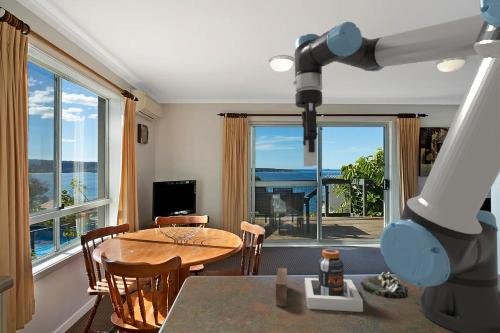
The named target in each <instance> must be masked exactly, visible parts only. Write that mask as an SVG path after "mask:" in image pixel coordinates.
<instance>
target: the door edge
mask: <svg viewBox="0 0 500 333" xmlns="http://www.w3.org/2000/svg"><path fill="white" fill-rule="evenodd" d="M276 270H277V273H276V279H275V280H276V281H275V306H276V307H287V298H288V295H287V294H288V293H287V291H288V278H287V277H288V275H287V274H288V273H287V272H288V271H287V270H288V268H287V267H277V269H276Z"/></svg>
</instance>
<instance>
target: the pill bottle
mask: <svg viewBox="0 0 500 333" xmlns="http://www.w3.org/2000/svg"><path fill="white" fill-rule="evenodd" d="M321 253H322V254H321V255H322V257H321V258H320V259H319V260H318V278H319V295H323V296H342V297H344V279H345V278H344V277H345V276H344V274H345V273H344V270H345V269H344V262H343V261H342V260H341V259H340V251H338V250H337V249H333V248H332V249H331V248H325V249H322V252H321Z"/></svg>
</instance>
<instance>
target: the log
mask: <svg viewBox="0 0 500 333" xmlns="http://www.w3.org/2000/svg"><path fill="white" fill-rule="evenodd" d="M360 286H361V287H362V289H363V291H365V292H367V293H369V294H371V295H375V296H379V297H382V298H387V299H403V298H405V297H406V296H407V292H406V288H405V286H404V285H403V284H401V279H398V277H396V276H393V275H392V274H390V271H388V272H387V273H385V272H384V271H383V272H381V274H380V275H375V276H374V275H373V276H369V277H367V276H366V277H365V278H363V279H362V280H361V281H360Z"/></svg>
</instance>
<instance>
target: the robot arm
mask: <svg viewBox="0 0 500 333" xmlns="http://www.w3.org/2000/svg"><path fill="white" fill-rule="evenodd" d="M478 5H479V12H480V14H475V15H472V16H467V17H464V18H459V19H455V20H450V21H446V22H442V23H437V24H433V25H429V26H423V27H419V28H416V29H411V30H406V31H403V32H398V33H394V34H389V35H384V36H380V37H377V38H366V37H364V36H362V33H361V32H362V31H361V29H360V27H357V26H356V25H357V24H356V23H354V22H352V21H345V22H342V23H341V24H340V23H339V25H335V26H334V27H332V28H330V29H329V30H327V31H326V32H325V33H322V34H321V35H319V34H316V33H306V34H305V35H300V36H299V37H298V38H297V39H296V40H295V46H294V54H293V55H294V75H295V80H294V81H293V82H292V84H293V85H294V86H295V92H296V93H295V100H294V101H295V106H296V107H297V108H300V109H302V108H303V109H304V111H301V120H302V122H301V123H302V127H303V129H302V130H303V131H302V132H303V135H302V136H303V137H302V138H303V139H302V140H303V141H302V144H303V167H313V166H318V152H317V150H318V149H317V148H318V146H317V144H318V143H317V138H318V134H319V133H318V126H317V114H318V112H317V110H316V108H318V107H321V106H322V104H323V92H322V90H323V71H322V70H323V67H325V66H327V65H329V64H332V63H334V62H335V63H340V64H344V65H347V66H351V67H354V68H358V69H361V70H363V71H365V72H379V71H381V70H382V69H384V68H385V67H391V66H392V67H393V66H401V65H410V64H417V63H426V62H432V61H439V60H440V61H441V60H448V59H456V58H466V57H472V56H478V58H479V61H478V64H477V65H476V67H475V70H474V73H473V75H472V77H471V80H470V82H469V83H468V87H467V89H466V91H465V93H464V96H463V97H462V100H461V102H460V104H459V107H458V109H457V111H456V113H455V115H454V117H453V120H452V122H451V125H450V127H449V129H448V131H447V134H446V136H445V137H444V140H443V143H442V145H441V147H440V150H439V151H438V154H437V156H436V159H435V160H434V163H433V165H432V167H431V169H430V172H429V174H428V176H427V179H426V180H425V182H424V185H423V187H422V190H421V192H420V194H419V195H417V196H413V197H411V198H409V199H408V200H407V201H406V204H405V206H404V208H403V210H402V213H401V215H400V217H399V219H396V220H394V221H391V222H389V224H387V225H386V226H385V227H384V228H383V230H382V232H381V234H380V238H379V248H380V254H381V255H382V256H383V258H384V262H385V263H386V265H387V267H388V268H389V270H390V271H391V272H392V273H393V274H394V275H395V277H397V278H399V280H402V281H403V282H405V283H406V284H409V285H411V286H414V287H419V288H420V287H421V288H423V290H422V292H421V295H420V300H419V302H420V303H419V304H420V305H419V306H420V307H419V308H420V312H421V313H422V314H423V315H424V317H426V318H427V319H428V320H430V321H431V322H433V323H435V324H437V325H438V326H441V327H443V328H445V329H447V330H450V331H453V332H456V333H500V288H499V265H498V261H499V260H498V232H499V228H498V226H497V218H496V216H495V214H494V213H492V212H491V211H488V210H481V208H482V206H483V205H484V202H485V200H486V199H487V196H488V194H489V193H490V190H491V189H492V187H493V185H494V184H495V181H496V179H497V178H498V176H499V173H500V0H478Z"/></svg>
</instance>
